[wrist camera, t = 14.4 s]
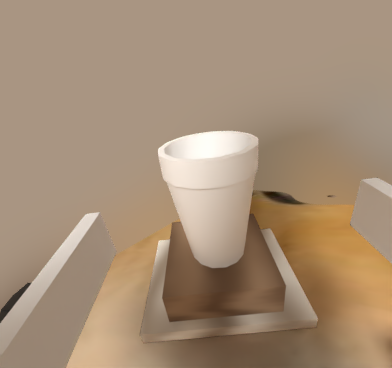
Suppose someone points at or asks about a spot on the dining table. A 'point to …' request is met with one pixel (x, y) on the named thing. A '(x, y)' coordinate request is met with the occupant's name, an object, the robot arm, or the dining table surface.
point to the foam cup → (212, 191)
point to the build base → (225, 325)
